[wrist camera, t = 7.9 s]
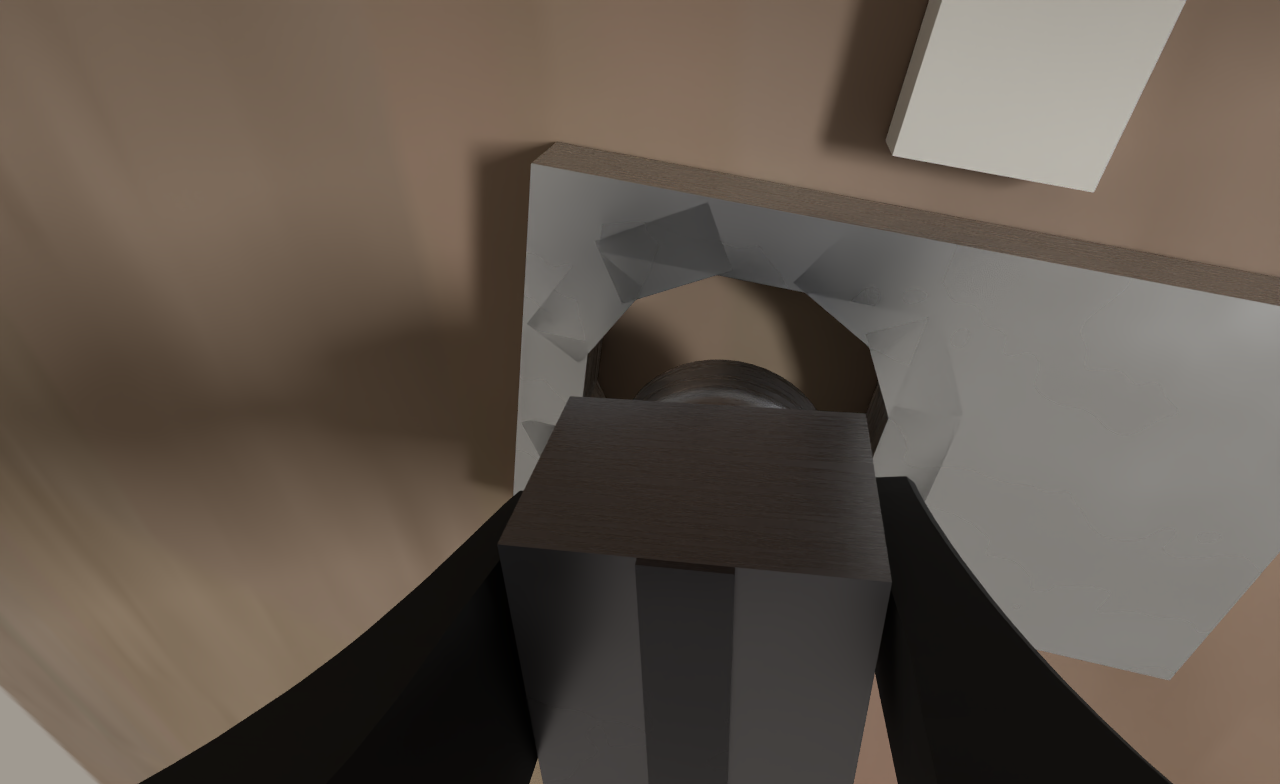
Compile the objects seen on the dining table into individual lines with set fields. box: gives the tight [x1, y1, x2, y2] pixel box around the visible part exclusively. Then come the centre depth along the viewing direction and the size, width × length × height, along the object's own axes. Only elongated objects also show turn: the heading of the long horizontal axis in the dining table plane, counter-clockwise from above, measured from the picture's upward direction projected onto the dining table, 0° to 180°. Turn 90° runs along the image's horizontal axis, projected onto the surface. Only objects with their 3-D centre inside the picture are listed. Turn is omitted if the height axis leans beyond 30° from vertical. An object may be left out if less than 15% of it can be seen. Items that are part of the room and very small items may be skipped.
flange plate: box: [513, 142, 1280, 680], centre depth 14 cm, size 14×8×2 cm, turn 82°
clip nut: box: [497, 360, 892, 784], centre depth 11 cm, size 4×4×5 cm
